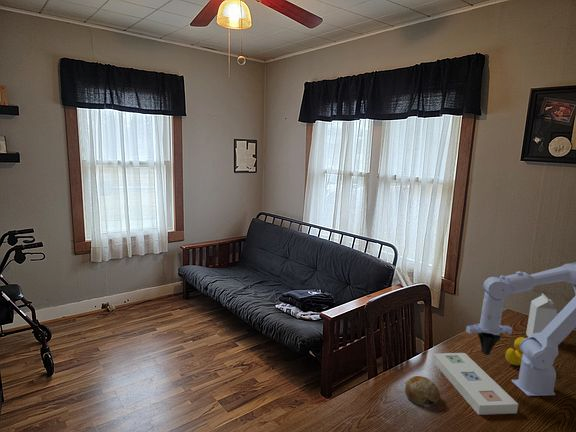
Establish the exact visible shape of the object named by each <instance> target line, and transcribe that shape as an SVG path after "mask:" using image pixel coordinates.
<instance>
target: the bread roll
mask: <svg viewBox="0 0 576 432" xmlns="http://www.w3.org/2000/svg"><path fill="white" fill-rule="evenodd" d="M404 384H405V387H404V392H405V395H406V397H407V398H408V400H410V401H411V402H412V403H414V404H416V405H418V406H423V407H424V408H430V407H432V406H434V405H438V403H439V402H440V399H441V393H440V390H439V388H438V386H437V385H436V384H435V383H434V381H432V380H431V379H429V378H428V377H426V376H423V375H416V376H412V377H410V378H409V379H408V380H406V382H404Z"/></svg>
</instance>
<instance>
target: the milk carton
mask: <svg viewBox="0 0 576 432" xmlns="http://www.w3.org/2000/svg"><path fill="white" fill-rule="evenodd" d="M554 304H555V302H554V301H553V300H552V299H549V298H548V297H547V296H546V295H545V294H544V293H543V292H542V293H541V295H539V296H537V297H536V298H535V299H532V300H531V301H530V308H529V314H528V320H527V325H526V326H527V327H526V333H525V334H526V337H527V338H528V337H530V336H531V335H532V334H533V333H540V332H542V331H543V329H544V328H545V327H546V326H547V325H548V324H549V323H550V322H551V321H552V320H553V319H554V318H555V317H556V316H557V315H558V313H557V312H558V309H557V308H556V307H555V306H554Z"/></svg>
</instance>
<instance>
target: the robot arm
mask: <svg viewBox="0 0 576 432" xmlns="http://www.w3.org/2000/svg"><path fill="white" fill-rule="evenodd" d="M559 282H565V283H569V284H571V285H572V286H573V290H574V291H573V292H574V294H575V296H574V297H572V299H571V300H570V301H569V302H568V303H566V305H564V307H563V308H562V309H561V310H560V311H559V312H558V313H557V314H556V317H555V318H554V319H553V320H552V321H551V322H550V323H549V324H548V325H547V326H546V327H545V328H544V329H543V331H542V332H540V333H533V334H532V335H531V336H530V337H528V336H527V337H524V338H525V339H524V340H522V341H521V343H520V349H521V351H522V352H523V355H522V360H521V365H519V366H520V368H519V373H518V379H511V382H512V383H513V384H514V385H515V386H516V387H518V389H520V390H521V391H522V392H523V393H524V394H525V395H526V396H527V397H539V396H540V397H541V396H555V395H556V393H555V392H554V390H555V384H556V378H557V372H556V369H555V367H554V366H553V365H554V363H555V359H556V357H558V355H559V345H560V344H561V343H562V342H563V341H564V340H565V339H566V338H567V337H568V336H569V335H570V333H572V331H573V330H574V329H576V262H572V263H564V264H563V265H561V266H557V267H555V268H550V269H546V270H543V271H539V272H537V273H536V272H534V273H531V274H530V273H527V272H525V271H523V272H522V271H520V270H519V271H516V272H515V273H513V274H509V275H500V276H499V277H497V276H490V277H488V278H486V279H485V280H484V282H483V283H482V288H483V290H484V296H483V300H482V308H481V312H480V313H481V315H480V321H479V323H475V324H472V325H471V324H470V325H466V329H465V331H466V333H468V334H469V335H473V334H477V335H478V339H479V341H480V342H479V343H480V347H481V353H482V354H483V355H485V356H488V355H490V353H491V351H492V350H493V348H494V347H495V345H496V344H497V343H498V342H499V341H500V340H501V336H500V334H507V335H512V332H513V328H512V327H511V326H510V325H504V324H503V325H502V324H501V323H502V316H503V310H504V305H505V304H504V303H505V299H507V298H508V297H509V296H511V295H513V294H518V293H523V292H527V291H532V290H533V288H534V287H535V286H540V285H545V284H546V285H547V284H551V283H559Z"/></svg>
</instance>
